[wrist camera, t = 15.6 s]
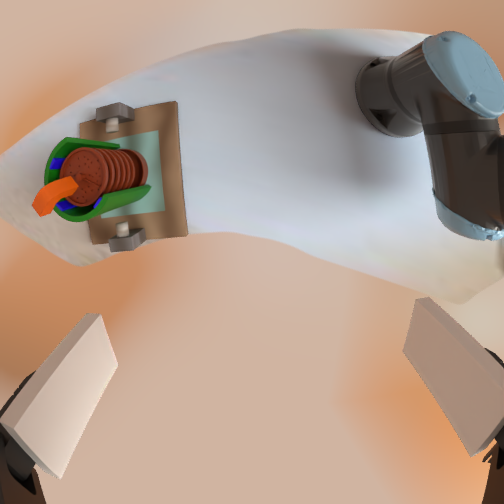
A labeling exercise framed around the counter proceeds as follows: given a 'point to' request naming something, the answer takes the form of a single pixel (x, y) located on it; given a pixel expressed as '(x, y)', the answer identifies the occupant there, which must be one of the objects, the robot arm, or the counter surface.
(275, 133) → the counter surface
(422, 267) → the counter surface
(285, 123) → the counter surface
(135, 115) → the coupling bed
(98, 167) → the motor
